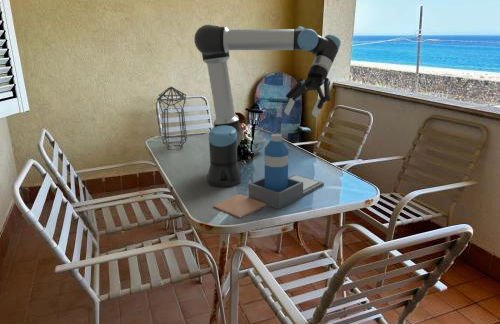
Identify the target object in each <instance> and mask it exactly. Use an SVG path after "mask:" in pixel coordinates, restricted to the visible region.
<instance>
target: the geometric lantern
mask: <svg viewBox="0 0 500 324" xmlns="http://www.w3.org/2000/svg"><path fill="white" fill-rule="evenodd" d="M168 91H169V93H168ZM166 93H168V94H166ZM158 96H159V97H157V98H156V100H157V102H158V104H159V107H160V110H161V116H162V118H161V119H162V120H161V121H162V122H161V123H162V125H161V126H162V135H161V136H162V141H161V142H162V144H163V145H165V146H166V147H167V149H168V148H170V149H171V146H169V144H170V145H176V147H181V148H182V147H183V146H184V145H185V143H187V141H188V140H187V138H188V135H187V127H186V126H187V125H186V120H185V110H184V107H185V104H186V99H187V94H186V93H184V92H182V91H180V90H179V89H176V88H175V87H173V86H169V87H168V88H166V89H165V90H164V91H162V92H161V93H160V94H158ZM174 97H175V99H174ZM163 98H164V99H163ZM182 101H183V106H182V105H181V104H180V102H182ZM174 102H175V103H174ZM171 103H172V104H171ZM161 104H162V105H163V108H164V109H162V105H161ZM164 104H165V105H167V107H165V105H164ZM177 104H178V105H179V106H180V108H179V107H176V105H177ZM170 106H173V107H174V108H173V110H176V114H178V116H179V117H178V118H179V128H180V129H179V131H180V135H177V136H175V135H174V136H171V138H180V140H179V141H176V142H173V141H170V136H169V133H167V131H169V107H170ZM179 110H180V112H179ZM166 123H167V125H166ZM183 138H184V139H183ZM176 143H179V144H176ZM180 144H181V145H180ZM183 148H184V147H183Z"/></svg>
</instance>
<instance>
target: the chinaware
mask: <svg viewBox="0 0 500 324" xmlns="http://www.w3.org/2000/svg"><path fill="white" fill-rule="evenodd" d="M266 140H267V138H266V137H264V136H262V135H254V140H253V144H252V151H253V152H254V154H253V155H256V154H258V153H259V152H260V151H261V150H262V149H263V147H264V146H265V144H266Z"/></svg>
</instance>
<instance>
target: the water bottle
mask: <svg viewBox="0 0 500 324" xmlns="http://www.w3.org/2000/svg"><path fill="white" fill-rule="evenodd" d="M264 177H265V188H267V189H270V190H273V191H276V192H281V191H283V190H285V189H287V188H288V177H289V148H288V146H286V144H285V142H284V141H283V135H282V134H281V133H272V134H270V141H269V142H268V143H267V145H265V147H264Z"/></svg>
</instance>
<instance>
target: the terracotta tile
mask: <svg viewBox="0 0 500 324" xmlns="http://www.w3.org/2000/svg"><path fill="white" fill-rule="evenodd" d="M213 206H214V207H216V208H215V209H217V208H218V210H219V209H221V210H220V211H222V210H223V211H222V212H224V211H225V212H224V213H226V212H227V214H229V213H230V214H229V215H231V214H232V215H231V216H233V215H234V216H233V217H236V216H237V217H236V218H238V217H239V218H238V219H242V218H244V217H246V216H249V215H250V214H253V213H254V212H256V211H258V210H260V209H262V208H264V207H266V206H268V205H267V204H265V203H263V202H260V201H257V200H254V199H252V198H249V196H247V195H243V194H241V193H239V194H236V195H234V196H232V197H229V198H227V199H224V200H222V201H219V202H218V203H215V204H213V205H212V207H213ZM214 207H213V208H214Z"/></svg>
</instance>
